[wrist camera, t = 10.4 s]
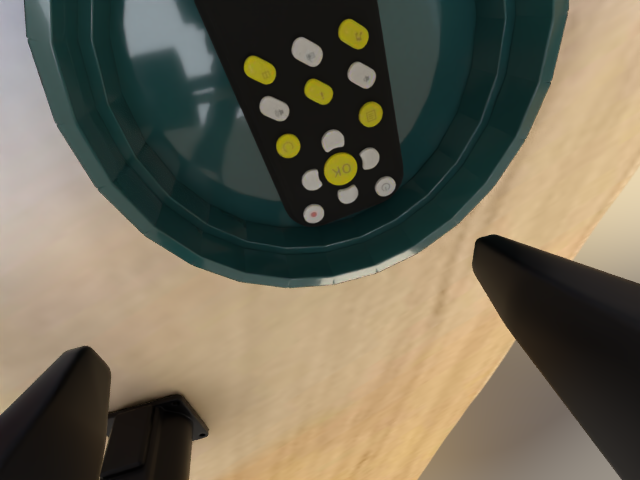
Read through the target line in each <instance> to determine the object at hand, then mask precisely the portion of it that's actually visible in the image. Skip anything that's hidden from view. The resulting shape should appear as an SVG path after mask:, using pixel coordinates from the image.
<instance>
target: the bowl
mask: <svg viewBox="0 0 640 480" xmlns="http://www.w3.org/2000/svg"><path fill="white" fill-rule="evenodd" d="M377 1H378V8H379V14H380V21H381V27H382V33H383V40H384V46H385V52H386V59H387V65H388V72H389V78H390V84H391V91H392V97H393V103H394V110H395V116H396V123H397V129H398V135H399V142H400V148H401V154H402V161H403V173H404V175H403V179H402V183H401V185H400V187H399V189H398V190H397V191H396V192H395V194H394V195H393V196H391V197H390V198H389V199H388V200H386V201H384V202H382V203H380V204H377V205H375V206H372V207H369V208H367V209H364V210H362V211H359V212H356V213H354V214H351V215H348V216H346V217H343V218H341V219H338V220H335V221H333V222H330V223H327V224H325V225H321V226H317V227H308V226H303V225H301V224H299V223H296V222H295V221H294V220H293V219H291V218H290V217H289V215H288V213H287V212H286V210H285V208H284V206H283V203H282V201H281V199H280V197H279V194H278V192H277V190H276V187H275V185H274V183H273V181H272V178H271V176H270V174H269V171H268V169H267V167H266V165H265V162H264V160H263V158H262V155H261V153H260V151H259V149H258V146H257V144H256V142H255V139H254V137H253V135H252V133H251V130H250V128H249V126H248V123H247V121H246V119H245V117H244V114H243V112H242V110H241V108H240V105H239V103H238V101H237V98H236V96H235V94H234V92H233V89H232V87H231V85H230V82H229V80H228V78H227V76H226V73H225V71H224V69H223V66H222V64H221V62H220V60H219V57H218V55H217V53H216V50H215V48H214V46H213V44H212V41H211V39H210V37H209V34H208V32H207V30H206V28H205V25H204V23H203V21H202V18H201V16H200V14H199V12H198V9H197V7H196V5H195V2H194V0H24V8H25V24H26V37H27V38H28V44H29V46H30V49H31V52H32V55H33V58H34V61H35V64H36V67H37V70H38V73H39V76H40V79H41V82H42V85H43V88H44V91H45V94H46V97H47V100H48V103H49V106H50V109H51V112H52V115H53V118H54V121H55V123H56V124H57V127H58V129H59V130H60V132H61V133H62V135H63V136H64V138H65V140H66V141H67V143H68V144H69V146H70V148H71V149H72V151H73V152H74V154H75V155H76V157H77V159H78V160H79V162H80V163H81V165H82V167H83V168H84V170H85V171H86V173H87V174H88V176H89V178H90V179H91V181H92V182H93V184H94V186H95V187H96V188H98V191H99V192H100V193H101V194H102V195H103V196H104V197H105V198H106V199H107V200H108V201H109V202H110V203H111V204H112V205H114V206H115V207H116V208H117V209H118V210H119V211H120V212H121V213H122V214H123V215H124V216H125V217H126V218H127V219H128V220H129V221H130V222H131V223H132V224H133V225H134V226H135V227H136V228H137V229H138V230H139V231H140V232H141V233H142V234H144V236H146V237H147V238H149V239H150V240H152V241H154V242H155V243H157V244H158V245H160V246H162V247H163V248H165V249H167V250H168V251H170V252H171V253H173V254H175V255H176V256H178V257H180V258H181V259H183V260H184V261H186V262H188V263H189V264H191V265H193V266H196V267H198V268H201V269H204V270H207V271H210V272H213V273H216V274H218V275H221V276H224V277H227V278H230V279H233V280H236V281H239V282H244V283H252V284H259V285H267V286H275V287H283V288H297V287H311V286H325V285H333V284H334V285H335V284H339V283H342V282H346V281H350V280H353V279H357V278H361V277H365V276H368V275H372V274H376V273H377V272H380V271H382V270H384V269H386V268H389V267H391V266H393V265H395V264H397V263H399V262H401V261H403V260H405V259H407V258H409V257H411V256H413V255H415V254H417V253H418V252H421V251H422V250H423V249H425V248H426V247H428V246H429V245H430V244H432V243H433V242H434V241H436V240H437V239H439V238H440V237H441V236H443V235H444V234H445V233H447V232H448V231H450V230H451V229H452V228H454V227H455V226H456V225H457V224H459V223H460V222H461V221H462V220H463V219H464V218H465V217H466V216H467V215H468V213H469V212H470V211H471V210H472V209H473V208H474V207H475V206H476V205H477V204H478V203H479V202H480V201H481V200H482V199H483V198H484V197H485V196H486V195H487V194H488V193H489V192H490V191H491V190H492V189H493V186H495V185H496V183H497V182H498V180H499V179H500V177H501V176H502V174H503V173H504V171H505V170H506V168H507V167H508V165H509V164H510V162H511V161H512V160H513V158H514V157H515V155H516V154H517V152H518V151H519V149H520V148H521V146H522V145H523V143H524V142H525V140H524V139H526V138H527V136H528V134H529V131H530V129H531V127H532V125H533V122H534V120H535V118H536V116H537V114H538V111H539V109H540V107H541V105H542V102H543V100H544V98H545V96H546V93H547V91H548V89H549V87H550V84H551V82H550V81H552V78H553V74H554V70H555V66H556V62H557V57H558V53H559V49H560V45H561V41H562V37H563V32H564V28H565V24H566V20H567V16H568V10H569V0H377Z"/></svg>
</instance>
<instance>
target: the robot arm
mask: <svg viewBox="0 0 640 480" xmlns="http://www.w3.org/2000/svg"><path fill="white" fill-rule="evenodd" d="M472 268H473V271H474V274H475V276H476V277H477V279H478V281H479V282H480V284H481V286H482V287H483V289H484V291H485V292H486V294H487V296H488V297H489V299H490V301H491V302H492V304H493V306H494V307H495V309H496V311H497V312H498V314H499V316H500V317H501V319H502V320H503V322H504V323H505V325H506V327H507V328H508V329H509V331H510V332H511V334H512V335H513V336H514V338H515V339H516V340H517V341H518V343H519V344H520V346H521V347H522V348H523V349H524V351H525V352H526V353H527V355H528V356H529V357H530V359H531V360H532V361H533V363H534V364H535V365H536V367H537V368H538V369H539V371H540V372H541V373H542V375H543V376H544V377H545V379H546V380H547V381H548V382H549V384H550V385H551V387H552V388H553V389H554V391H555V392H556V393H557V395H558V396H559V397H560V398H561V400H562V401H563V402H564V404H565V405H566V406H567V408H568V409H569V410H570V412H571V413H572V414H573V416H574V417H575V418H576V420H577V421H578V422H579V424H580V425H581V426H582V428H583V429H584V430H585V432H586V433H587V434H588V435H589V437H590V438H591V440H592V441H593V442H594V443H595V445H596V446H597V447H598V449H599V450H600V452H601V453H602V454H603V455H604V457H605V458H606V459H607V461H608V462H609V463H610V465H611V466H612V467H613V469H614V470H615V471H616V473H617V474H618V475H619V477H620V478H621V479H622V480H640V284H639V283H636V282H633V281H630V280H627V279H624V278H621V277H618V276H615V275H612V274H609V273H606V272H604V271H600V270H598V269H595V268H592V267H589V266H586V265H583V264H580V263H577V262H574V261H571V260H569V259H566V258H563V257H560V256H557V255H554V254H551V253H548V252H545V251H542V250H539V249H536V248H534V247H531V246H528V245H525V244H522V243H519V242H516V241H513V240H510V239H507V238H504V237H502V236H499V235H494V234H493V235H488V236H485V237H481V238H479V239H477V241H476V242H475V248H474V255H473V261H472ZM110 384H111V372H110V369H109V367H108V365H107V364H106V363H105V362H104V361H103V360H102V359H101V358H100V356H99V355H98V354H97V353H96V352H95V351H94V350H93V349H92V348H91V347H88V346H82V347H78V348H75V349H71V350H68V351H66V352H64V353H63V354H62V355H61V356H60V357H59V358H58V359H57V360H56V361H55V362H54V363H53V364H52V365H51V366H50V367H49V368H48V369H47V370H46V371H45V372H44V373H43V374H42V375H41V376H40V377H39V378H38V379H37V380H36V381H35V382H34V383H33V384H32V385H31V386H30V387H29V388H28V389H27V390H26V391H25V392H24V393H23V394H22V395H21V396H20V397H19V398H18V399H17V400H16V401H14V402H13V403H12V404H11V405H10V406H9V407H8V408H7V409H6V410H5V411H4V412H3V413H2V414H1V415H0V480H189V473H190V462H191V450H192V441H194V440H198V439H201V438H204V437H207V436H208V431H209V429H208V428H207V426H206V425H205V424H204V423H203V421H202V420H201V419H200V418H199V416H198V415H197V414H196V413H195V411H194V410H193V409H192V407H191V406H190V405H189V404H188V402H187V401H186V400H185V399H184V397H183V396H181V395H173V396H169V397H166V398H162V399H159V400H156V401H152V402H149V403H145V404H142V405H138V406H135V407H131V408H128V409H124V410H121V411H117V412H114V413H110V414H108V409H109V397H110ZM106 435H107V436H108V437H109V440H108V444H107V447H106V451H105V455H104V449H105V442H106ZM103 455H104V458H103ZM102 461H103V462H102ZM99 477H100V479H99Z"/></svg>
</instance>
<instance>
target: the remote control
mask: <svg viewBox="0 0 640 480" xmlns="http://www.w3.org/2000/svg"><path fill="white" fill-rule="evenodd" d="M194 2H195V5H196V7H197V9H198V12H199V14H200V16H201V18H202V21H203V23H204V25H205V28H206V30H207V32H208V34H209V37H210V39H211V41H212V44H213V46H214V48H215V50H216V53H217V55H218V57H219V60H220V62H221V64H222V66H223V69H224V71H225V73H226V76H227V78H228V80H229V82H230V85H231V87H232V89H233V92H234V94H235V96H236V98H237V101H238V103H239V105H240V108H241V110H242V112H243V114H244V117H245V119H246V121H247V123H248V126H249V128H250V130H251V133H252V135H253V137H254V139H255V142H256V144H257V146H258V149H259V151H260V153H261V155H262V158H263V160H264V162H265V165H266V167H267V169H268V171H269V174H270V176H271V178H272V181H273V183H274V185H275V187H276V190H277V192H278V194H279V197H280V199H281V201H282V203H283V206H284V208H285V210H286V212H287V213H288V215H289V217H290V218H291V219H293V220H294V221H295V222H296V223H299V224H301V225H303V226H308V227H317V226H321V225H325V224H327V223H330V222H333V221H335V220H338V219H341V218H343V217H346V216H348V215H351V214H354V213H356V212H359V211H362V210H364V209H367V208H369V207H372V206H375V205H377V204H380V203H382V202H384V201H386V200H388V199H389V198H390V197H391V196H393V195H394V194H395V192H396V191H397V190H398V189H399V187H400V185H401V183H402V179H403V175H404V173H403V161H402V154H401V148H400V142H399V135H398V129H397V123H396V116H395V110H394V103H393V97H392V91H391V84H390V78H389V72H388V65H387V59H386V52H385V46H384V40H383V33H382V27H381V21H380V14H379V8H378V1H377V0H194Z"/></svg>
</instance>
